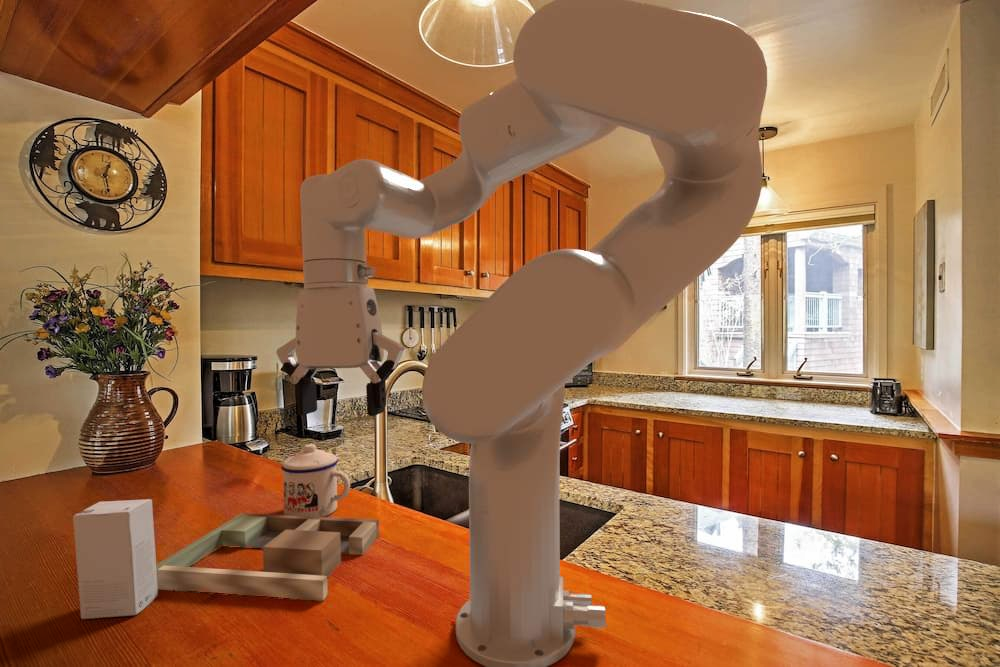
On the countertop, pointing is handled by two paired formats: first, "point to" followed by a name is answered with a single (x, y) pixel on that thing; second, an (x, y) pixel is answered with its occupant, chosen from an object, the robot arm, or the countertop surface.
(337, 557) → the block
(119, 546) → the skincare box
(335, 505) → the teacup with lid
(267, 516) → the tray
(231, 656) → the countertop surface
